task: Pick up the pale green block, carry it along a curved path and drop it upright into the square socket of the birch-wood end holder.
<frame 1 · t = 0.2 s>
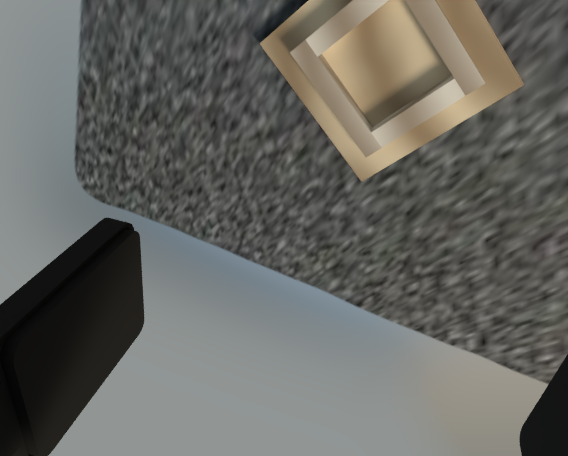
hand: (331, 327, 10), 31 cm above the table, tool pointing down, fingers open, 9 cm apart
end holder: (386, 60, 36), on the table
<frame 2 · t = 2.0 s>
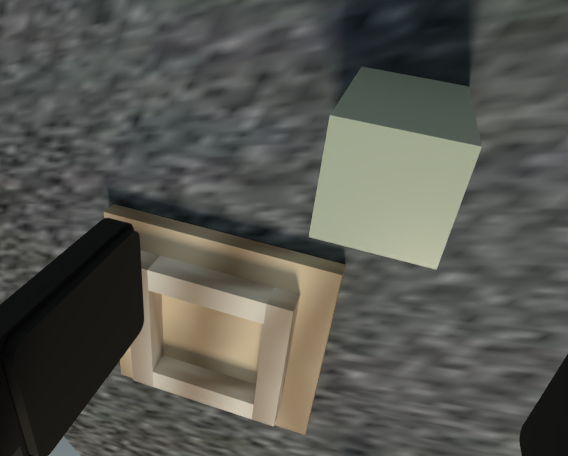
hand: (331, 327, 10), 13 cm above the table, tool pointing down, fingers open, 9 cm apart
pale green block: (401, 127, 21), on the table
end holder: (219, 322, 30), on the table
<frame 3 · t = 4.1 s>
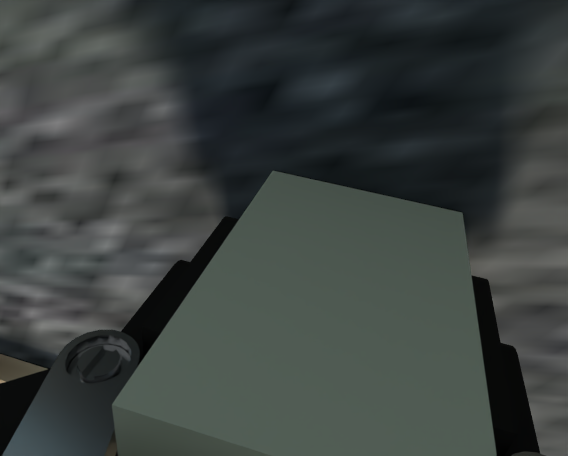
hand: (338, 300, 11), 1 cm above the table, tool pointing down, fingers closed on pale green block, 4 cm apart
pale green block: (346, 267, 12), on the table, touching gripper
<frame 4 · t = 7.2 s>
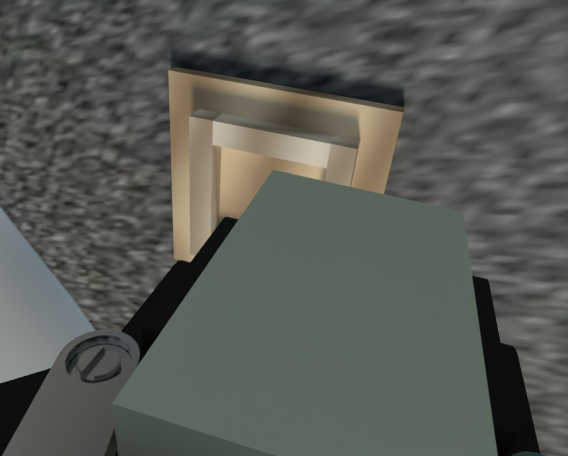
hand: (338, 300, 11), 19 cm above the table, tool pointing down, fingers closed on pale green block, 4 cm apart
pale green block: (346, 266, 12), point 17 cm above the table, touching gripper
end holder: (274, 190, 31), on the table
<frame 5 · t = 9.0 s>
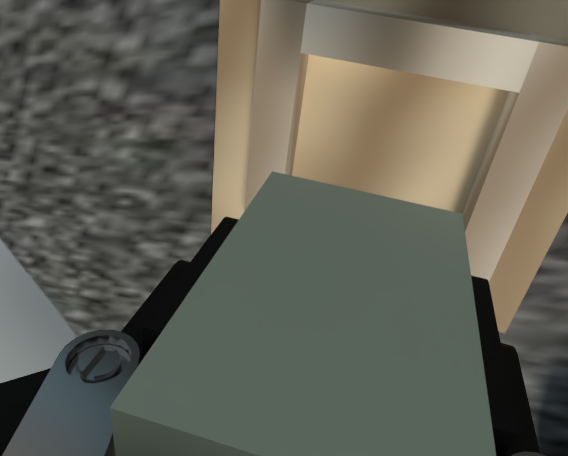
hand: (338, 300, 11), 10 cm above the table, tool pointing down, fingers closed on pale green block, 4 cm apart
pale green block: (346, 268, 12), point 8 cm above the table, touching gripper
end holder: (386, 145, 19), on the table
when the fingers open (3 cm above the table, at t = 10.5 s): pale green block stays where it is, resting on end holder.
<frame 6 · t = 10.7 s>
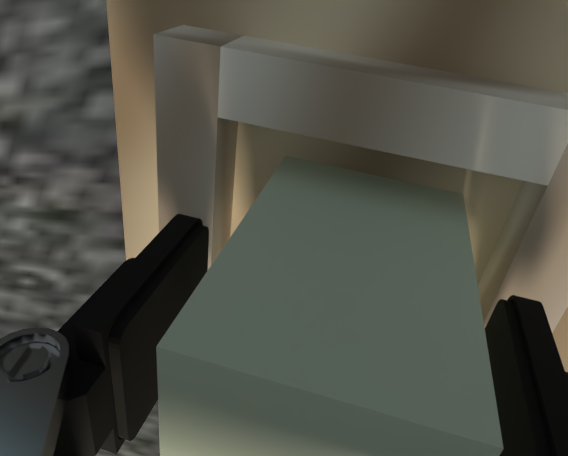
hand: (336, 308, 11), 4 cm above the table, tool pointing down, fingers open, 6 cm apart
pale green block: (354, 247, 13), point 1 cm above the table, touching end holder
end holder: (355, 229, 14), on the table
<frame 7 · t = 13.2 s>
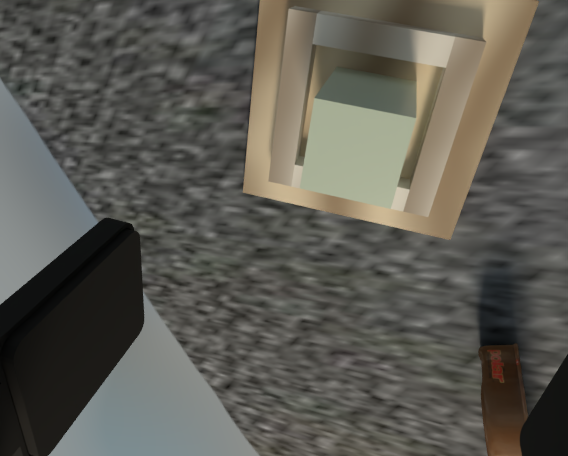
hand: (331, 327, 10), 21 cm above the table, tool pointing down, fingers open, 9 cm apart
pale green block: (367, 112, 27), point 1 cm above the table, touching end holder
tin: (501, 391, 37), on the table
end holder: (367, 108, 28), on the table
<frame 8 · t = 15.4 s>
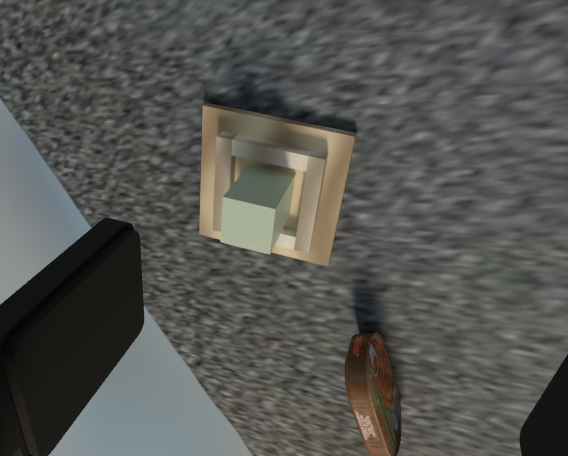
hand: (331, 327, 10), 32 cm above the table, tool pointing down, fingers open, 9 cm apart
pale green block: (269, 190, 45), point 1 cm above the table, touching end holder
tin: (378, 365, 55), on the table
end holder: (271, 186, 46), on the table
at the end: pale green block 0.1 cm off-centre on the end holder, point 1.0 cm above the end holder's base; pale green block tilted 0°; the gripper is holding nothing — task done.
